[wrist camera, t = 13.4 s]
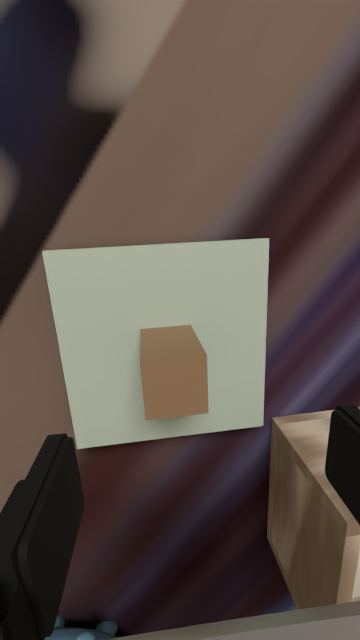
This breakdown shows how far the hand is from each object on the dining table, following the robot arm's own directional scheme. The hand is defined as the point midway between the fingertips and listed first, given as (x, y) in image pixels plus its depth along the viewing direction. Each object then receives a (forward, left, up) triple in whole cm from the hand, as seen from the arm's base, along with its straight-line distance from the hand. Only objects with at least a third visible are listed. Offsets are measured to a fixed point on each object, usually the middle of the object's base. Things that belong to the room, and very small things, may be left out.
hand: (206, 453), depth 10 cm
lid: (+1, 0, -13) cm, 13 cm away
